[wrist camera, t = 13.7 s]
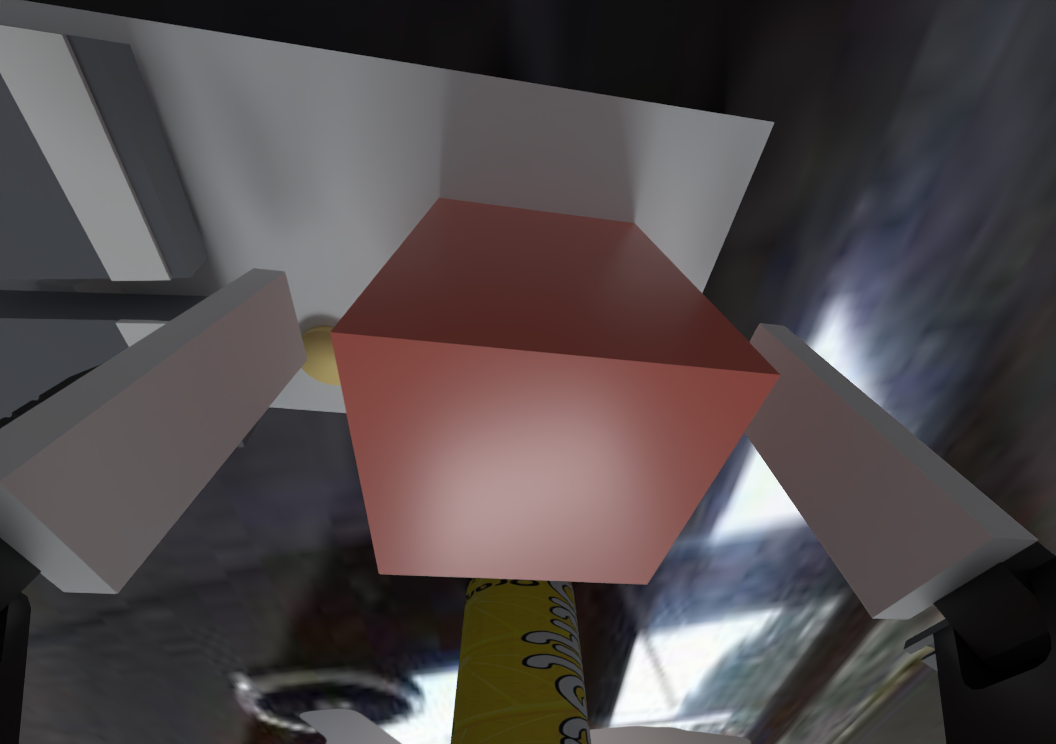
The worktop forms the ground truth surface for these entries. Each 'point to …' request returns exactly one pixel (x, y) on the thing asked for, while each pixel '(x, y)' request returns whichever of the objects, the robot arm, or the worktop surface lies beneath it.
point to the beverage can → (520, 665)
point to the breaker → (86, 166)
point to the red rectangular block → (537, 397)
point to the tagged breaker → (72, 336)
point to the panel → (393, 164)
